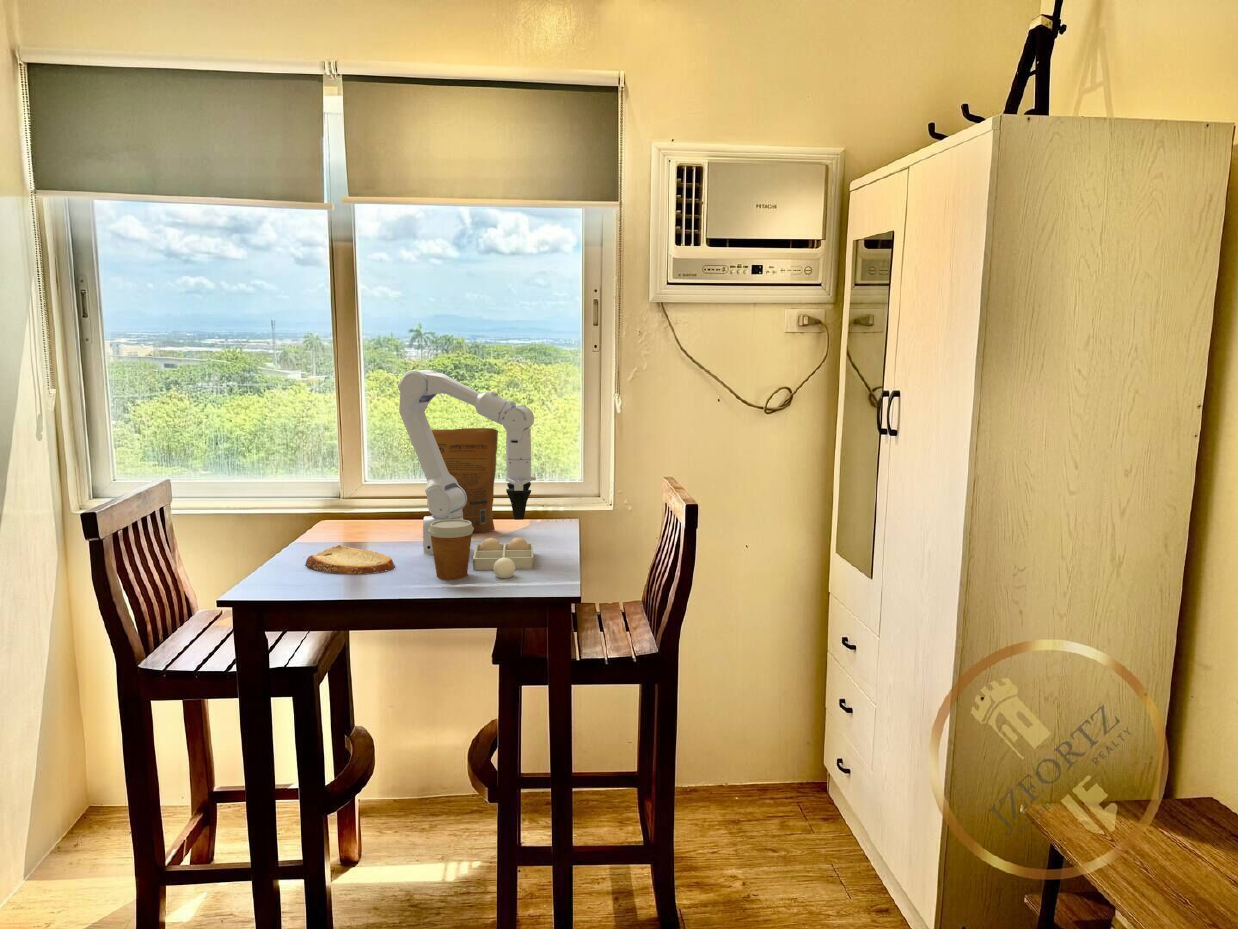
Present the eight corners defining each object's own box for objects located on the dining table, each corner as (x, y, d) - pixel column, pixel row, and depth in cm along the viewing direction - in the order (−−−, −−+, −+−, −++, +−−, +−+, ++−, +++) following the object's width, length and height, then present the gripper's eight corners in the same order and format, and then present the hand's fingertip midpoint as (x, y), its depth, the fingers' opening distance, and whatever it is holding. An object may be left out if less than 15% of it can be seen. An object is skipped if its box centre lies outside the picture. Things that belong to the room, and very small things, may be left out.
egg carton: (473, 572, 176) (472, 558, 176) (476, 556, 189) (476, 544, 189) (533, 570, 178) (533, 557, 177) (532, 555, 191) (532, 543, 190)
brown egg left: (479, 560, 184) (479, 540, 183) (481, 555, 188) (480, 536, 188) (500, 560, 184) (500, 540, 184) (500, 554, 189) (500, 535, 188)
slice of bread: (398, 572, 177) (398, 555, 177) (311, 581, 169) (310, 564, 169) (384, 553, 193) (383, 538, 193) (304, 561, 185) (303, 545, 185)
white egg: (493, 582, 169) (492, 560, 168) (494, 576, 173) (493, 555, 173) (515, 581, 169) (515, 560, 169) (515, 575, 174) (515, 554, 173)
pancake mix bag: (498, 534, 212) (496, 429, 208) (425, 534, 212) (422, 428, 208) (500, 528, 219) (499, 426, 215) (430, 528, 218) (427, 426, 214)
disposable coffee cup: (477, 582, 168) (476, 526, 167) (430, 586, 166) (429, 529, 164) (472, 570, 177) (471, 517, 176) (427, 573, 175) (426, 519, 173)
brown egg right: (508, 559, 184) (507, 540, 184) (508, 554, 189) (508, 535, 188) (528, 559, 185) (528, 540, 184) (528, 554, 189) (528, 535, 189)
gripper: (536, 462, 179) (536, 522, 181) (535, 454, 194) (535, 509, 196) (504, 462, 179) (505, 522, 181) (506, 454, 193) (506, 509, 195)
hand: (519, 515), depth 188 cm, fingers open, 7 cm apart
